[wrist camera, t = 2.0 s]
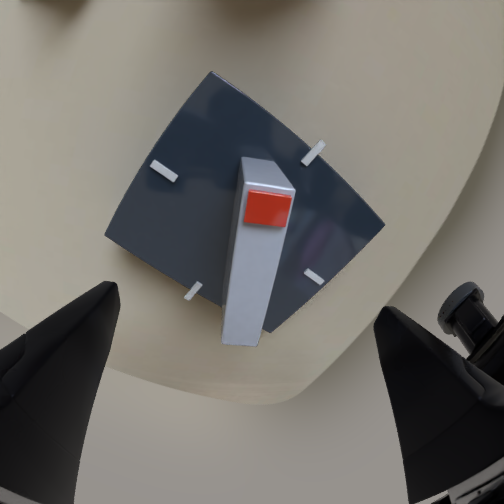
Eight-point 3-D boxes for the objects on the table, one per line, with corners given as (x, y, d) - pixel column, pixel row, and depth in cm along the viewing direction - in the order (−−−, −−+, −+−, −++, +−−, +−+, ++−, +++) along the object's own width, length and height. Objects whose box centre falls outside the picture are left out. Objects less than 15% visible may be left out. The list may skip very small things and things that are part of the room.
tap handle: (251, 286, 15) (258, 351, 11) (222, 283, 15) (220, 349, 11) (275, 161, 12) (298, 191, 8) (241, 156, 12) (244, 183, 8)
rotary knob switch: (370, 199, 16) (394, 218, 13) (260, 309, 20) (264, 340, 17) (222, 69, 12) (219, 59, 9) (118, 221, 16) (98, 244, 13)
